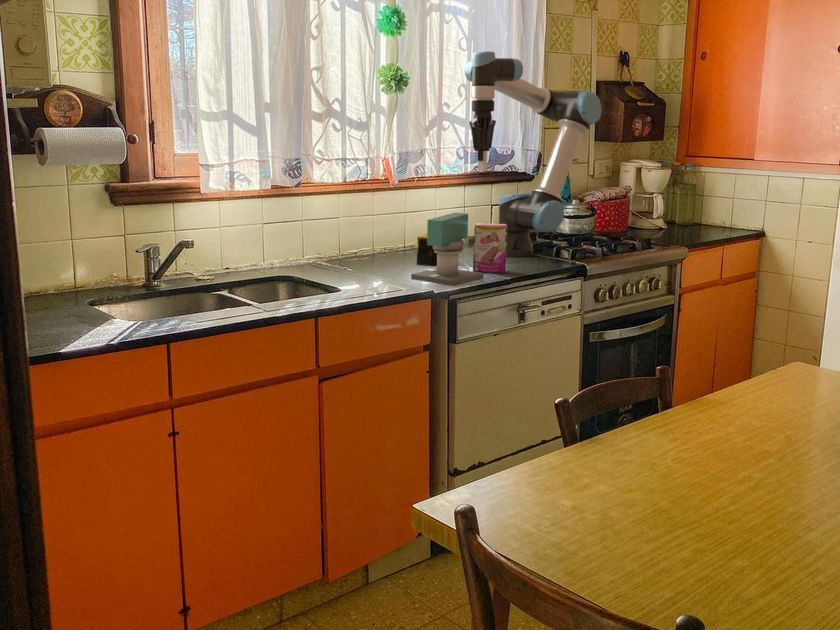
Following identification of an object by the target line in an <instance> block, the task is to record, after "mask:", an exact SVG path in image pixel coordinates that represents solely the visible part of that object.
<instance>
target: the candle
mask: <svg viewBox="0 0 840 630" xmlns="http://www.w3.org/2000/svg"><path fill="white" fill-rule="evenodd" d="M417 245H418V246H417V253H416V265H422V266H432V267H437V253H435V252H434V249H433V246H432V245H427V233H426V234H422V235H420V236H417Z"/></svg>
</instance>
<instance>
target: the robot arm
mask: <svg viewBox="0 0 840 630" xmlns="http://www.w3.org/2000/svg"><path fill="white" fill-rule="evenodd" d="M523 73H524V65H523V63H522V61H521V60H519V59H518V58H512V57H511V58H507V57H506V58H505V57H502V58H499V57H498V58H497V57H496V53H495V52H494V51H489V50H488V51H487V50H485V51H484V50H483V51H475V52H474V53H473V54H472V60H470V61H468V62H467V63H466V64H465V67H464V76H465V78H466V80H468V82H471V83H472V86H471V87H472V88H471V89H472V90H471V92H472V93H471V94H472V95H471V98H472V99H473V100H472V101H471V110H472V111H471V112H474V115H473V120H471V121H469V126H470V131H471V136H472V139H471V140H472V144H473V150H474V151H475V152H477V171H478V172H479V171H482V172H488V169H487V168H488V152H490V151H491V149H492V144H493V139H494V138H493V137H494V131H495V126H496V123H497V121H496V119H495V120H493V116H492V112H494V111H495V101H494V99H495V96H496V95H495V92H499V93H501V94H503V95H504V96H508V97H509V98H511V99H513V100H515V101H517V102H519V103H521V104H523V105H525V106H527V107H529V108H530V109H531V110H532V112H534V113H536V114H537V115H538V116H542V117H544V118H545V119H548V120H550V121H552V122H555V123H557V124H558V127H559V129H558V133H557V136H556V138H555V140H554V143H553V146H552V149H551V152H550V154H549V157H548V160H547V162H546V165H545V168H544V171H543V173H542V176H541V179H540V181H539V184H538V186H537V187H536V188H535V189H533V190H532V192H531V193H529V192H526V193H524V192H523V193H514V194H513V193H512V194H503V195H501V196H500V198H499V204H498V208H499V209H498V224H507V245H506V257H508V258H510V257H512V258H515V257H516V258H519V257H520V258H521V257H530V256H533V255H534V248H533V244H532V240H531V237H530V231H536V232H540V233H544V232H545V233H550V232H553V231H555V230H556V229H559V227H560V226H561V225H562V223H563V220H564V217H565V212H564V211H565V208H564V205H563V198H562V196H561V194H562V192H563V190H564V189H563V188H564V187H565V183H566V181H567V178H568V174H569V173H570V172H569V171H570V170H571V166H572V164H573V160H574V158H575V155H576V154H577V151H578V147H579V145H580V141H581V140H582V139H581V138H582V137H583V135H585V134H588V132H589V129H590V127H591V126H592V125H594V124H596V123H598V121H600V118H601V115H602V104H601V100H600V98H599V96H598V95H597V94H596V93H595V92H592V91H587V90H579V91H578V90H575V91H572V90H571V91H565V90H564V91H562V90H561V91H559V90H557V91H556V90H550V89H548V88H546V87H541V88H540V87H538V86H536V85H534V84H532V83H530V82H528V81H526V80H524V79H522V76H523Z"/></svg>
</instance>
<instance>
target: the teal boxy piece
mask: <svg viewBox="0 0 840 630" xmlns="http://www.w3.org/2000/svg"><path fill="white" fill-rule="evenodd" d="M426 228H427V229H426V230H427V232H426V234H427V245H432V246H433V249H434V250H438V251H460V250H463V251H464V239H467V238H469V236H468V235H469V213H466V212H465V213H464V212H462V213H461V212H451V213H448V214H445V215H444V214H443V215H440V216H437V217H434V218H430V219H427V227H426Z"/></svg>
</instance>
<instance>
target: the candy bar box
mask: <svg viewBox="0 0 840 630" xmlns="http://www.w3.org/2000/svg"><path fill="white" fill-rule="evenodd" d="M506 245H507V224H499V223H486V222H485V223H481V222H478V223H477V222H476V223H474V235H473V260H472V261H473V262H472V263H473V264H472V271H473V272H479V273H483V274H484V273H487V274H489V273H490V274H494V273H495V274H506V267H507V266H506V264H507V263H506V262H507V256H506Z"/></svg>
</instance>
